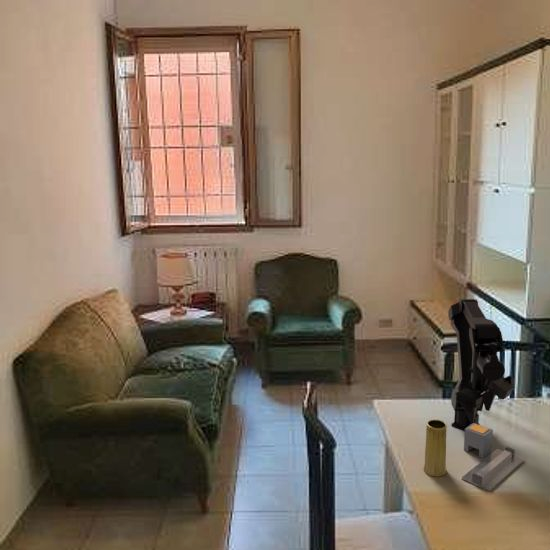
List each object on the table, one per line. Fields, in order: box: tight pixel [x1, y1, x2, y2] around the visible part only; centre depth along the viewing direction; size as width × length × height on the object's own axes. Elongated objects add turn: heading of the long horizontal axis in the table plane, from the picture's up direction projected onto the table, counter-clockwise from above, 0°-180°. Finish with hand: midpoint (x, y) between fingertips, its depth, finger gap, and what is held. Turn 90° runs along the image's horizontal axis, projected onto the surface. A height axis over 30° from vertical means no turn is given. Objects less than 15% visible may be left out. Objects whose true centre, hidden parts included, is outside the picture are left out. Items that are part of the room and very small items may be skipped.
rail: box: [461, 446, 525, 493], centre depth 156 cm, size 8×20×3 cm, turn 133°
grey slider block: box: [463, 423, 494, 459], centre depth 165 cm, size 6×5×7 cm
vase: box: [423, 419, 447, 477], centre depth 155 cm, size 6×6×14 cm
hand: (479, 415), depth 163 cm, fingers open, 9 cm apart
